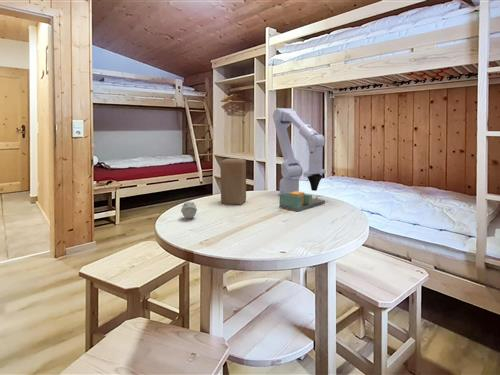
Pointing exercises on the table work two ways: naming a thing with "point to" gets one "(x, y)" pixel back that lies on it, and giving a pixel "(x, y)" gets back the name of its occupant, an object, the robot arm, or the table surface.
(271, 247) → the table surface
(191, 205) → the grey rounded lump
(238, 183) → the block
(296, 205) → the base
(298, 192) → the orange cube
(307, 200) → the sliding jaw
